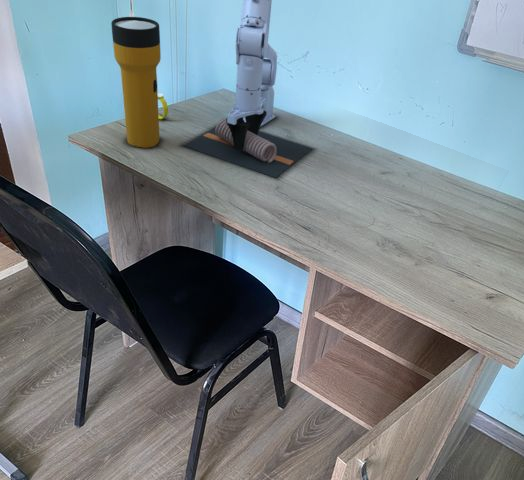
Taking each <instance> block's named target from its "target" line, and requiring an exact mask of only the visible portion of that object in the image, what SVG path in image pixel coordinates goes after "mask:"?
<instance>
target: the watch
mask: <svg viewBox="0 0 524 480" xmlns="http://www.w3.org/2000/svg"><path fill="white" fill-rule="evenodd" d="M158 101H160V103H161V105H162V109H163V114H162V115H160V114H158V115H159V120H160V121H162V120H164V119H166V118H167V117H168V114H169V106H168V103H167V101H166V99H165V97H164V94H163V93H161V92H158Z"/></svg>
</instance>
